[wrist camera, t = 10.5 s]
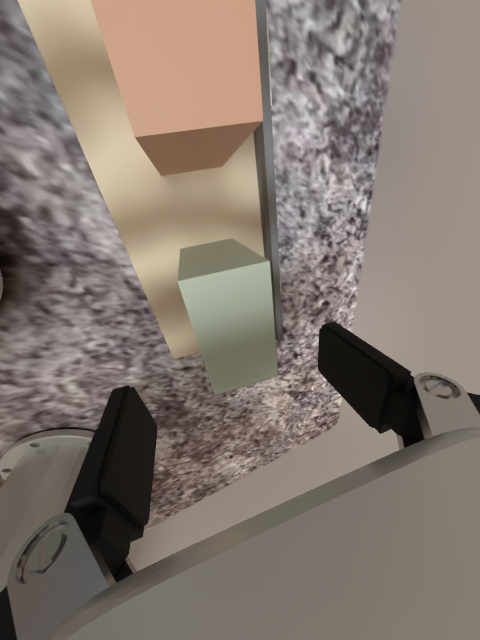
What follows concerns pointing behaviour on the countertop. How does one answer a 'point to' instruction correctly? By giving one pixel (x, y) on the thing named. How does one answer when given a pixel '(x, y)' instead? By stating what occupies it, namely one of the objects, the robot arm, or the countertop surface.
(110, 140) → the board
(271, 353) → the sage tin
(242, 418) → the countertop surface
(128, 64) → the rust tin
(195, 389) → the countertop surface
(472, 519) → the robot arm
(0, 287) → the teacup
